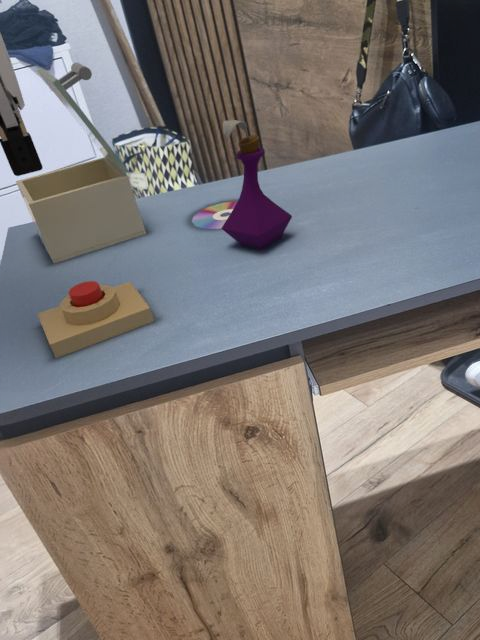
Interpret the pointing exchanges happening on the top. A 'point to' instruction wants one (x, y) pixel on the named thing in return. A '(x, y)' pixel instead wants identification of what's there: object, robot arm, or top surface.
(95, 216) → the compartment
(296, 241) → the top surface
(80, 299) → the button
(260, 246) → the perfume bottle
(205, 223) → the cd
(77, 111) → the lid
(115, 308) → the control block
